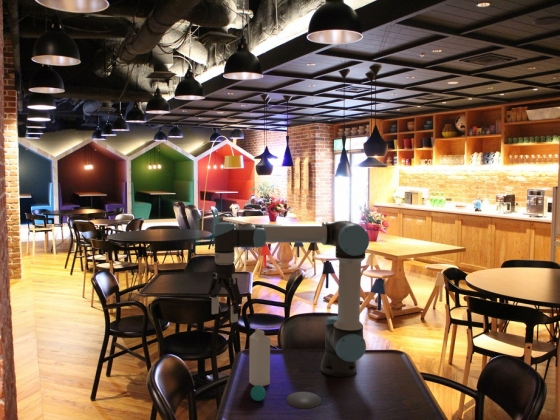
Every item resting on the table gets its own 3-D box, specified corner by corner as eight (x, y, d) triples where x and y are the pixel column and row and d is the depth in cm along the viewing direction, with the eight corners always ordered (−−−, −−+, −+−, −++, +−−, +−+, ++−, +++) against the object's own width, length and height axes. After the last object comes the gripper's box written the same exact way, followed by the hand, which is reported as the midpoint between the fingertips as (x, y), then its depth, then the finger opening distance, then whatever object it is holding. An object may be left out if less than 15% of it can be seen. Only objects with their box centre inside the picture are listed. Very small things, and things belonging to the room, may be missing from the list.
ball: (265, 396, 185) (265, 382, 185) (265, 403, 180) (265, 389, 179) (250, 396, 185) (250, 382, 185) (250, 403, 180) (250, 389, 179)
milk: (257, 388, 193) (257, 333, 191) (249, 382, 198) (249, 329, 196) (270, 384, 197) (270, 330, 195) (261, 378, 201) (261, 326, 200)
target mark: (319, 392, 190) (319, 391, 190) (323, 408, 177) (323, 407, 177) (285, 392, 189) (285, 391, 189) (287, 408, 176) (287, 408, 176)
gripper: (199, 259, 195) (199, 311, 197) (234, 269, 176) (234, 327, 178) (215, 257, 200) (215, 308, 202) (251, 266, 181) (251, 323, 182)
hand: (224, 317), depth 190 cm, fingers open, 13 cm apart
